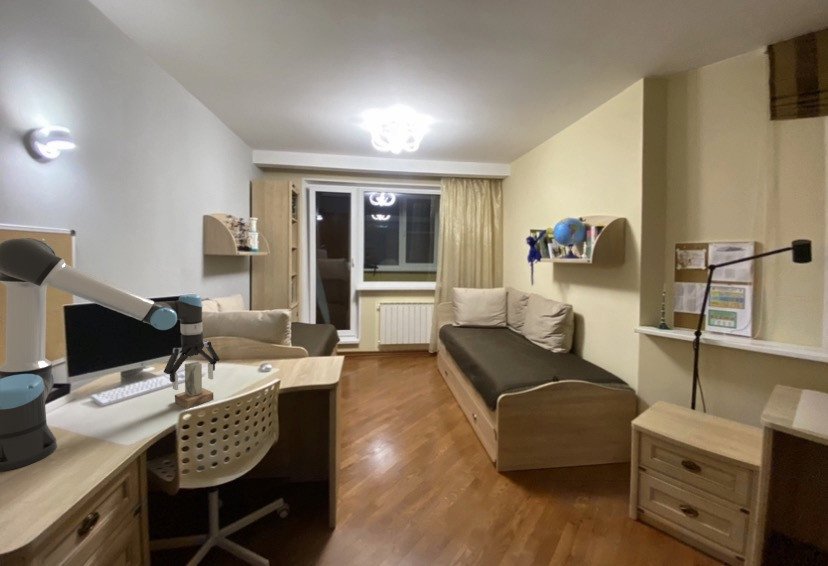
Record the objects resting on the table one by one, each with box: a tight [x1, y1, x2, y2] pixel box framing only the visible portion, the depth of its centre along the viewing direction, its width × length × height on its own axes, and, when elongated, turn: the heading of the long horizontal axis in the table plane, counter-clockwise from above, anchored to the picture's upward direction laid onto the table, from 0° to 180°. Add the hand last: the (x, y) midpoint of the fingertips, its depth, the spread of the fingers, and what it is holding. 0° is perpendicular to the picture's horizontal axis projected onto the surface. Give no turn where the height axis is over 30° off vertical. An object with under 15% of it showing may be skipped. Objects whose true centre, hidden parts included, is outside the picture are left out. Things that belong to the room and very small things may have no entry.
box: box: [184, 360, 203, 396], centre depth 143 cm, size 5×4×13 cm
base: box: [174, 387, 214, 409], centre depth 144 cm, size 10×10×3 cm
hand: (193, 383), depth 143 cm, fingers open, 13 cm apart
